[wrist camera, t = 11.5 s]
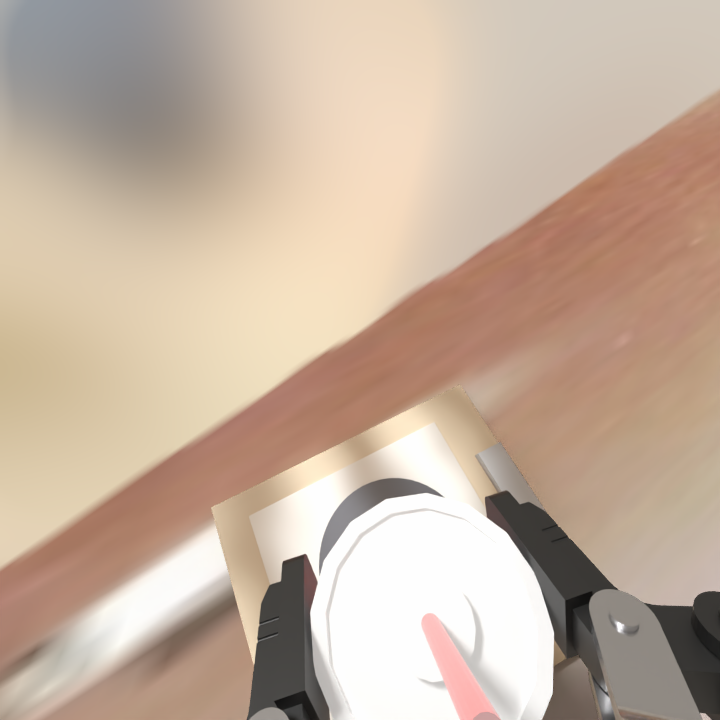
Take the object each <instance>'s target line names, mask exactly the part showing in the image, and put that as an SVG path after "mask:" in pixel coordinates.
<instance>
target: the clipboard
mask: <svg viewBox="0 0 720 720" xmlns="http://www.w3.org/2000/svg"><path fill="white" fill-rule="evenodd" d="M505 490H507V491H509V492H510V493H511V494H512V496H513V497H514V498H515V499H516V500H517V502H518V503H519V504H523V503H526V502H530V503H532V504H534V505H536V506H537V507H539V508H541V509H542V510H544V511H545V509H544V508H543V506H542V505H541V503H540V502H539V500H538V499H537V497H536V496H535V494H534V493H533V491H532V490H531V488H530V487H529V485H528V484H527V482H526V481H525V479H524V477H523V476H522V474H521V473H520V471H519V470H518V468H517V467H516V465H515V464H514V462H513V461H512V459H511V458H510V456H509V455H508V453H507V452H506V450H505V449H504V447H503V446H502V444H501V443H500V442H499V443H498V441H497V440H496V438H495V437H494V435H493V434H492V432H491V431H490V429H489V428H488V426H487V425H486V423H485V422H484V420H483V419H482V417H481V416H480V414H479V412H478V411H477V409H476V408H475V406H474V405H473V403H472V402H471V400H470V399H469V397H468V396H467V394H466V393H465V391H464V390H463V388H462V387H461V385H458V386H456V387H454V388H452V389H450V390H448V391H446V392H444V393H442V394H440V395H438V396H436V397H434V398H432V399H430V400H428V401H426V402H423V403H421V404H419V405H417V406H415V407H413V408H411V409H409V410H407V411H405V412H403V413H401V414H399V415H397V416H395V417H393V418H391V419H389V420H387V421H385V422H383V423H381V424H379V425H377V426H375V427H373V428H371V429H369V430H367V431H365V432H363V433H361V434H359V435H357V436H355V437H353V438H351V439H349V440H347V441H345V442H343V443H341V444H339V445H337V446H335V447H333V448H331V449H329V450H327V451H324V452H322V453H320V454H318V455H316V456H314V457H312V458H310V459H308V460H306V461H304V462H302V463H300V464H298V465H296V466H294V467H292V468H290V469H288V470H286V471H284V472H282V473H280V474H278V475H276V476H274V477H272V478H270V479H268V480H266V481H264V482H262V483H260V484H258V485H256V486H254V487H252V488H250V489H248V490H246V491H244V492H242V493H240V494H238V495H236V496H234V497H232V498H230V499H228V500H226V501H223V502H221V503H219V504H217V505H215V506H213V507H211V509H212V513H213V516H214V520H215V524H216V528H217V531H218V535H219V539H220V542H221V546H222V550H223V553H224V557H225V561H226V564H227V568H228V572H229V575H230V579H231V583H232V586H233V590H234V594H235V597H236V601H237V605H238V608H239V612H240V616H241V619H242V623H243V627H244V631H245V634H246V638H247V642H248V645H249V649H250V653H251V656H252V660H253V664H254V663H255V654H256V645H257V643H258V640H257V636H258V627H259V618H260V609H261V602H262V600H263V598H264V596H265V594H266V591H267V589H268V587H269V585H271V584H274V583H277V582H280V581H281V572H282V563H283V561H284V560H287V559H290V558H294V557H297V556H300V555H303V554H306V555H307V556H308V559H309V561H310V564H311V566H312V569H313V571H314V574H315V576H316V579H317V581H319V577H320V573H321V569H322V566H323V562H324V560H325V558H326V557H327V555H328V554H329V552H330V551H331V549H332V548H333V547H334V545H335V544H336V542H337V541H338V539H339V538H340V536H341V535H342V534H343V532H344V531H345V529H346V528H347V526H348V525H349V523H350V522H351V521H353V520H354V519H356V518H358V517H359V516H361V515H362V514H364V513H365V512H367V511H368V510H370V509H371V508H373V507H375V506H376V505H378V504H379V503H381V502H382V501H384V500H385V499H390V498H396V497H403V496H409V495H416V494H423V493H429V494H433V495H436V496H440V497H444V498H447V499H451V500H455V501H459V502H462V503H466V504H469V505H470V506H471V507H473V508H474V509H475V510H477V511H478V512H480V513H481V514H482V515H484V516H485V517H486V518H487V514H486V506H485V497H486V496H489V495H493V494H496V493H499V492H502V491H505ZM545 512H546V511H545ZM546 513H547V512H546ZM565 659H566V657H565V656H564V654H563V652H562V651H561V649H560V648H559V646H558V645H557V643H556V642H555V640H554V657H553V667H554V666H556V665H557V664H559V663H560V662H562V661H563V660H565ZM329 712H330V709H329ZM330 720H334V719H333V717H332V714H331V712H330Z"/></svg>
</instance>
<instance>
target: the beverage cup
mask: <svg viewBox="0 0 720 720" xmlns="http://www.w3.org/2000/svg"><path fill="white" fill-rule="evenodd" d="M310 616H311V632H312V648H313V663H314V668H315V674H316V677H317V680H318V682H319V685H320V687H321V690H322V692H323V695H324V697H325V700H326V702H327V705H328V707H329V709H330V712H331V714H332V717H333V719H334V720H542V718H543V716H544V714H545V711H546V709H547V706H548V704H549V701H550V699H551V696H552V694H553V657H554V631H553V627H552V624H551V621H550V617H549V614H548V611H547V608H546V604H545V601H544V598H543V595H542V591H541V588H540V586H539V583H538V581H537V579H536V576H535V574H534V572H533V570H532V568H531V567H530V566H529V564H528V563H527V561H526V560H525V558H524V557H523V555H522V554H521V553H520V551H519V550H518V548H517V547H516V545H515V544H514V543H513V541H512V540H511V538H510V537H509V535H508V534H507V532H505V531H504V530H503V529H501V528H500V527H499V526H497V525H496V524H494V523H493V522H492V521H490V520H489V519H488V518H486V517H485V516H484V515H482V514H481V513H480V512H478V511H477V510H475V509H474V508H473V507H471V506H470V505H469V504H466V503H462V502H459V501H455V500H451V499H447V498H444V497H440V496H436V495H433V494H429V493H423V494H416V495H409V496H403V497H396V498H390V499H385V500H384V501H382V502H381V503H379V504H378V505H376V506H375V507H373V508H371V509H370V510H368V511H367V512H365V513H364V514H362V515H361V516H359V517H358V518H356V519H354V520H353V521H351V522H350V523H349V525H348V526H347V528H346V529H345V531H344V532H343V534H342V535H341V536H340V538H339V539H338V541H337V542H336V544H335V545H334V547H333V548H332V549H331V551H330V552H329V554H328V555H327V557H326V558H325V560H324V562H323V566H322V569H321V573H320V577H319V581H318V585H317V588H316V592H315V596H314V600H313V604H312V607H311V611H310Z"/></svg>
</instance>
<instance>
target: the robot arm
mask: <svg viewBox="0 0 720 720" xmlns="http://www.w3.org/2000/svg"><path fill="white" fill-rule="evenodd" d="M485 506H486V514H487V518H488V519H489V520H490V521H492V522H493V523H494V524H496V525H497V526H499V527H500V528H501V529H503V530H504V531H505V532H507V534H508V535H509V537H510V538H511V540H512V541H513V543H514V544H515V545H516V547H517V548H518V550H519V551H520V553H521V554H522V555H523V557H524V558H525V560H526V561H527V563H528V564H529V566H530V567H531V568H532V570H533V572H534V574H535V576H536V579H537V581H538V583H539V586H540V588H541V591H542V595H543V598H544V601H545V604H546V608H547V611H548V614H549V617H550V621H551V624H552V627H553V631H554V640H555V642H556V643H557V645H558V646H559V648H560V649H561V651H562V652H563V654H564V656H565V657H566V659H568V658H570V657H573V656H576V655H579V656H580V658H581V659H582V661H583V662H584V664H585V665H586V666H587V668H588V674H589V680H590V684H591V688H592V692H593V696H594V700H595V704H596V708H597V713H598V717H599V720H702V717H701V715H700V713H706V714H707V715H708V716H709V717H710V718H711V719H712V720H720V592H716V591H709V592H704V593H701V594H699V595H698V596H697V597H696V598H695V600H694V604H693V607H692V606H660V605H651V604H647V603H643V602H641V601H640V600H639V599H637V598H636V597H634V596H632V595H630V594H628V593H625V592H622V591H619V590H618V589H617V588H616V587H614V586H613V585H612V584H611V583H610V582H609V581H608V580H607V578H606V577H605V576H604V575H603V574H602V573H601V572H600V571H599V570H598V569H597V567H596V566H595V565H594V564H593V563H592V562H591V561H590V560H589V559H588V558H587V557H586V555H585V554H584V553H583V552H582V551H581V550H580V549H579V548H578V547H577V546H576V544H575V543H574V542H573V541H572V540H571V539H569V538H568V536H567V535H566V534H565V532H564V531H563V530H562V529H561V528H560V527H558V525H557V524H556V523H555V521H554V520H553V519H552V518H551V517H550V516H549V515H548V514H547V513H546V512H545V511H544V510H542V509H541V508H539V507H537V506H536V505H534V504H532V503H530V502H526V503H523V504H519V503H518V502H517V500H516V499H515V498H514V497H513V496H512V494H511V493H510V492H509V491H507V490H505V491H502V492H499V493H496V494H493V495H489V496H486V497H485ZM317 585H318V581H317V579H316V576H315V574H314V571H313V569H312V566H311V564H310V561H309V559H308V556H307V555H306V554H303V555H300V556H297V557H294V558H290V559H287V560H284V561H283V563H282V572H281V581H280V582H277V583H274V584H271V585H269V587H268V589H267V591H266V594H265V596H264V598H263V600H262V602H261V609H260V618H259V627H258V636H257V640H258V643H257V645H256V654H255V663H254V672H253V681H252V690H251V699H250V707H249V713H248V717H247V720H330V712H329V707H328V705H327V702H326V700H325V697H324V695H323V692H322V690H321V687H320V685H319V682H318V680H317V677H316V674H315V668H314V663H313V648H312V632H311V616H310V611H311V607H312V604H313V600H314V596H315V592H316V588H317Z"/></svg>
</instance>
